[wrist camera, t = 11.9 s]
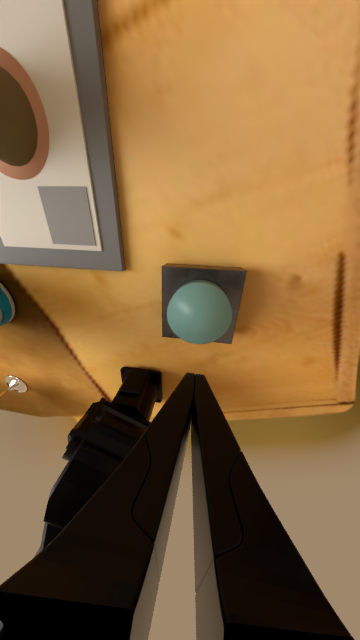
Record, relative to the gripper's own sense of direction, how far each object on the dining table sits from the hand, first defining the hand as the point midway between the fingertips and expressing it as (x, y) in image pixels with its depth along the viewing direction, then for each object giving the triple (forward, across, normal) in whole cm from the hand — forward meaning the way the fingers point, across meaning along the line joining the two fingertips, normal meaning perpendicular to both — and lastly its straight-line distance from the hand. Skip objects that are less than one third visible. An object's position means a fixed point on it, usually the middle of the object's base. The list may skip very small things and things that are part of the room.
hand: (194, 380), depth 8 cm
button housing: (+13, 0, 0) cm, 13 cm away
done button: (+10, 0, 0) cm, 10 cm away
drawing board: (+13, +17, -13) cm, 25 cm away
